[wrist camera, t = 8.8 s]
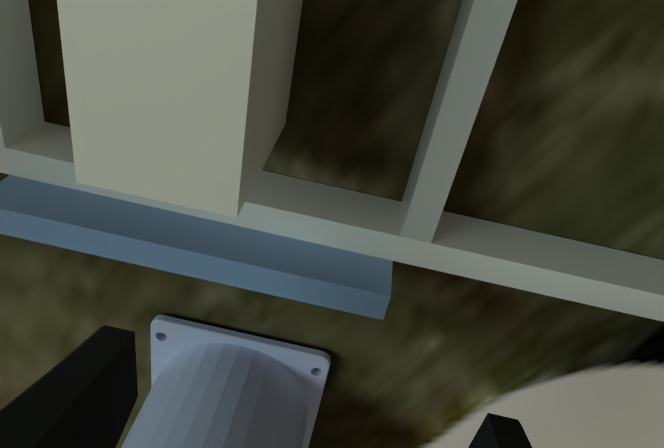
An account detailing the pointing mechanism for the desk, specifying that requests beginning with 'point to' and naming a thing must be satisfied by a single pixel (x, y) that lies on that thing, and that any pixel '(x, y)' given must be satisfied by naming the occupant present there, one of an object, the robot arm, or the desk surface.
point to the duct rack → (308, 206)
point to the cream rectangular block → (177, 94)
